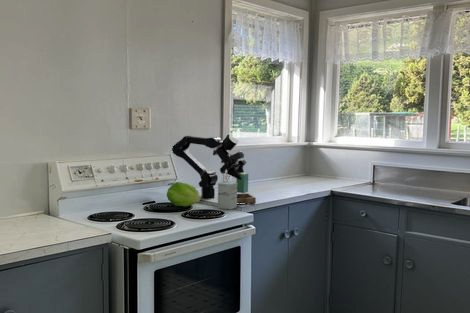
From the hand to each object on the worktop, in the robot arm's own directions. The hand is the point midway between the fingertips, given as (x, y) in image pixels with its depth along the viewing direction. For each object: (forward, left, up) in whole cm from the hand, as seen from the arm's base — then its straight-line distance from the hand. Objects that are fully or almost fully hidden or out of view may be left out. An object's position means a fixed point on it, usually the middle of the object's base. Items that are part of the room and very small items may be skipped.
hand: (242, 178), depth 244 cm
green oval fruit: (-31, -5, -12) cm, 34 cm away
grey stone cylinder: (-11, -11, -12) cm, 20 cm away
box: (-1, +1, -12) cm, 12 cm away
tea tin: (0, 0, -7) cm, 7 cm away
